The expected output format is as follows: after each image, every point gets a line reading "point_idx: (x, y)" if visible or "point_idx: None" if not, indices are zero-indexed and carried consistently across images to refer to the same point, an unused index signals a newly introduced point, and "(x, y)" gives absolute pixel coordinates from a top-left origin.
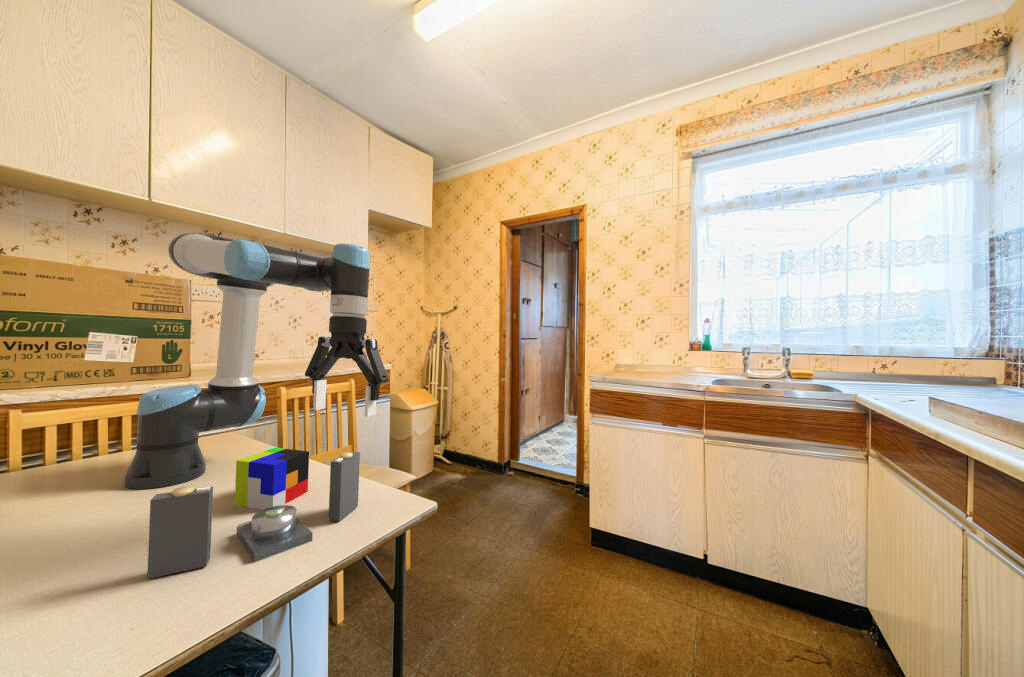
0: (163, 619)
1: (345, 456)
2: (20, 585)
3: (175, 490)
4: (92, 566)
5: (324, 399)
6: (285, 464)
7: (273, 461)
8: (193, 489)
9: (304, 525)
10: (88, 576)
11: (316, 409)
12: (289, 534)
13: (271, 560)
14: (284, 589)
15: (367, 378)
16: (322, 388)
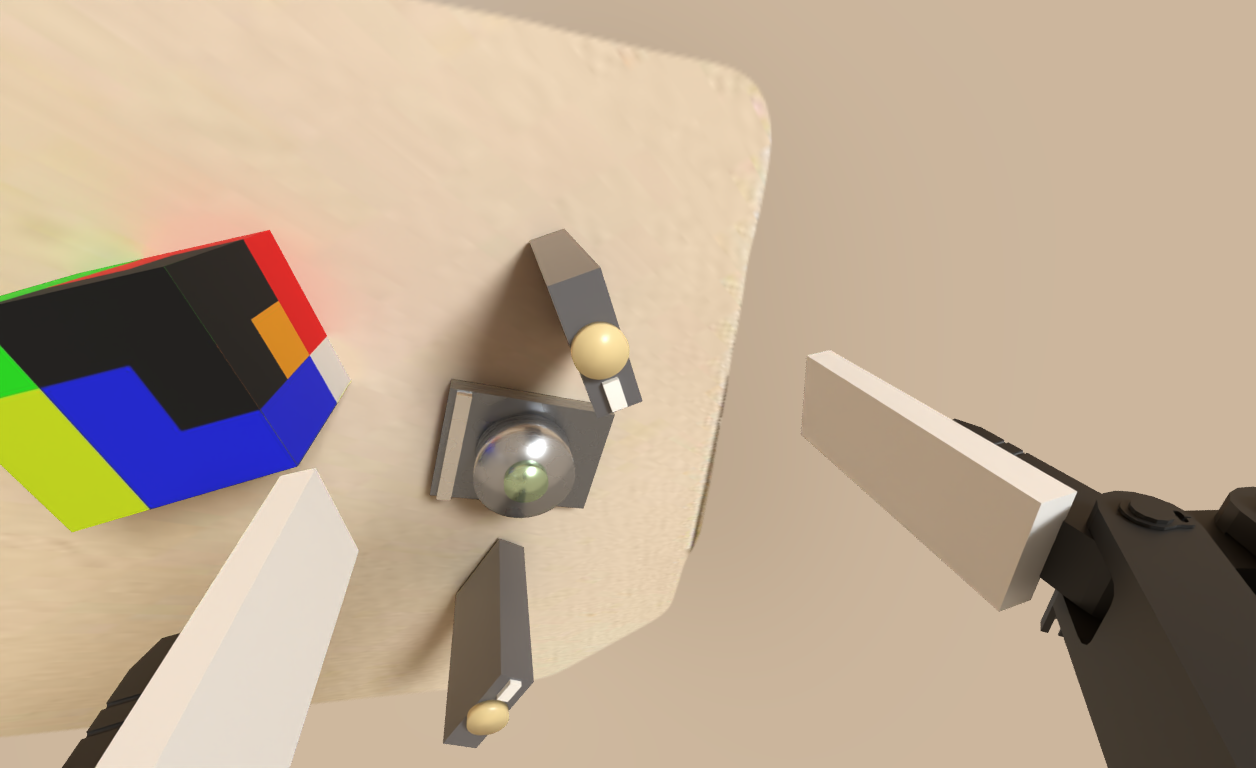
0: (605, 594)
1: (620, 369)
2: (323, 695)
3: (481, 731)
4: (339, 642)
5: (291, 542)
6: (270, 406)
7: (232, 449)
8: (501, 707)
9: (567, 408)
10: (379, 645)
11: (356, 550)
12: (575, 445)
13: (602, 478)
14: (694, 496)
15: (1101, 682)
16: (253, 694)
